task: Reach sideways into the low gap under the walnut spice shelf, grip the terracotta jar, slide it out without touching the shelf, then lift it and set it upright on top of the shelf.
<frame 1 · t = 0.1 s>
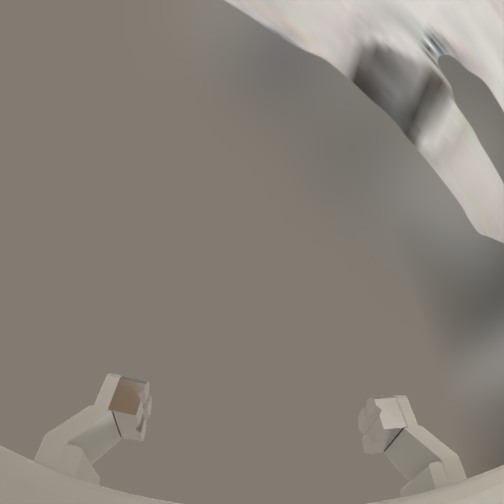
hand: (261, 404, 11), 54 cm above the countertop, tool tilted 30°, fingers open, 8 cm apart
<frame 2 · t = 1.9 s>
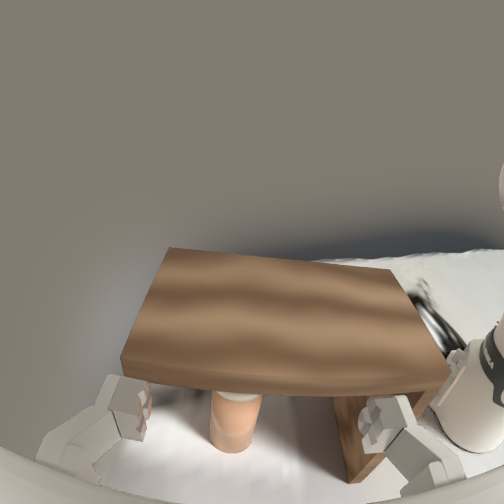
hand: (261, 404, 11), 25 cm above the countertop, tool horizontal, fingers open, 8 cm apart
jar: (231, 435, 34), on the countertop
shelf: (231, 435, 34), on the countertop
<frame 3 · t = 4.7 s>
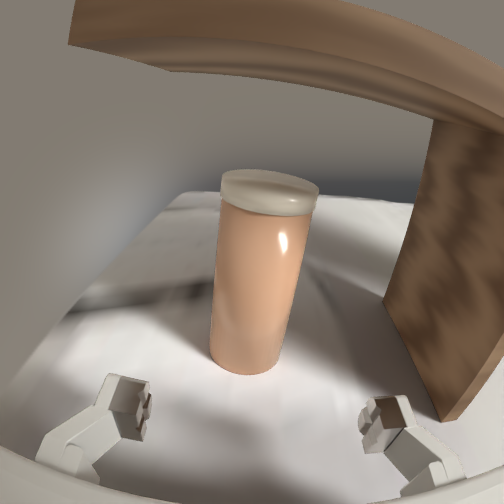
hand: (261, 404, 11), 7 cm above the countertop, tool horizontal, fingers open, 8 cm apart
jar: (244, 349, 22), on the countertop
shelf: (244, 349, 22), on the countertop
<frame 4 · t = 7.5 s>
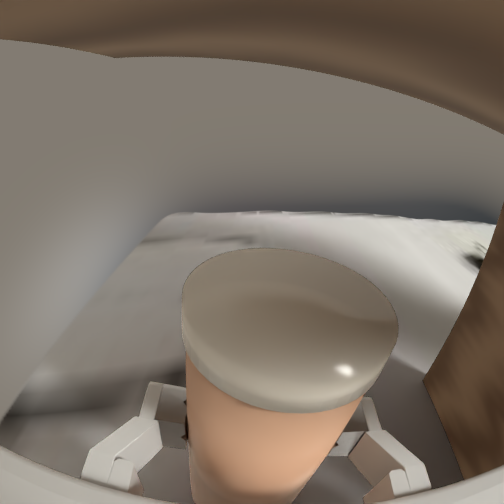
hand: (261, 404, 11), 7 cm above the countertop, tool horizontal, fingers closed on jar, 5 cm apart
jar: (241, 488, 13), on the countertop, touching gripper
shelf: (241, 488, 13), on the countertop
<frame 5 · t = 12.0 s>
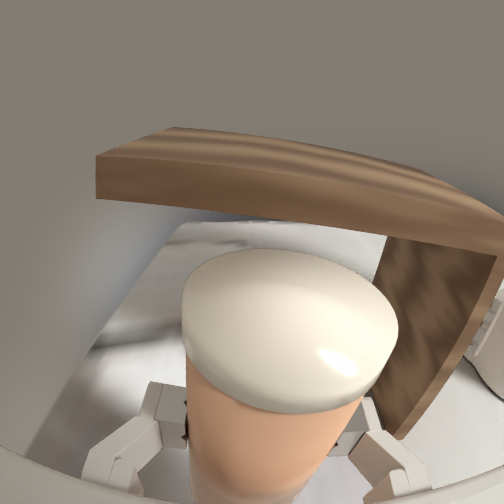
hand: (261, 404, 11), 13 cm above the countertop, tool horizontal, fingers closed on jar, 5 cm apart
jar: (241, 489, 13), point 7 cm above the countertop, touching gripper
shelf: (234, 378, 28), on the countertop
when the fingers open (28 cm above the countertop, at t = 16.6 s): jar drops 1 cm, resting on shelf.
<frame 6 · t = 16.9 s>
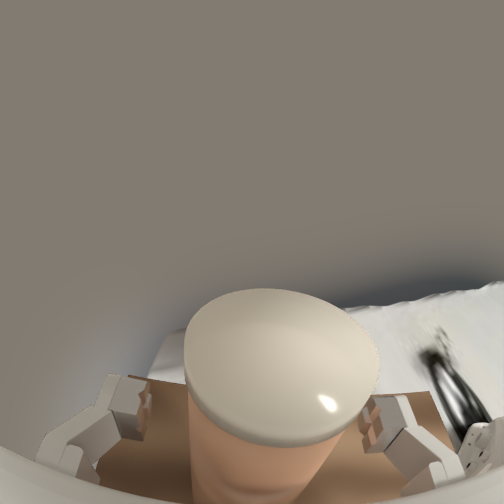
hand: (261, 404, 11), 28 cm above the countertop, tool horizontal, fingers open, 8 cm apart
jar: (239, 497, 13), point 20 cm above the countertop, touching shelf
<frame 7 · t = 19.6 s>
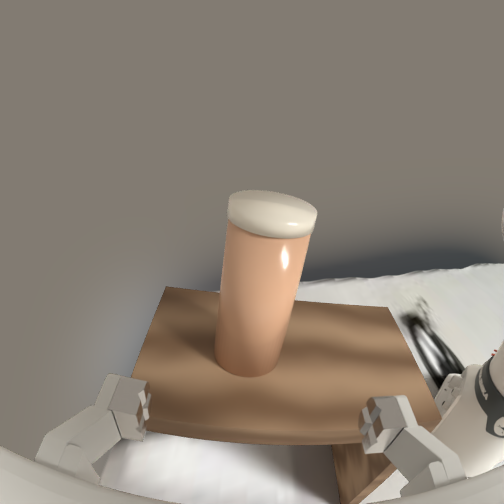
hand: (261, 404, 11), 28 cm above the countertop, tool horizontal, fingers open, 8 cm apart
jar: (246, 353, 24), point 20 cm above the countertop, touching shelf
shelf: (228, 462, 33), on the countertop
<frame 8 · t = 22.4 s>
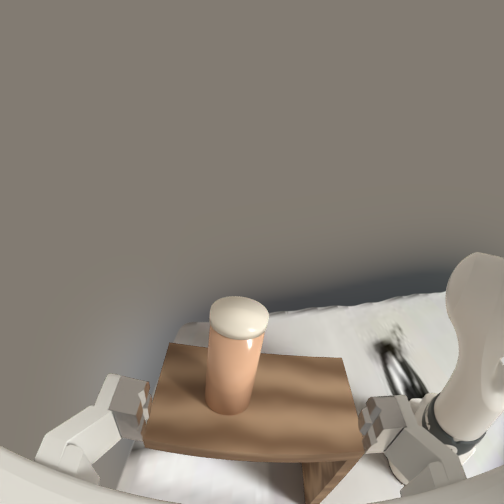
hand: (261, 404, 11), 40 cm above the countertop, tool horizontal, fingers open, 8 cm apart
jar: (227, 398, 33), point 20 cm above the countertop, touching shelf
shelf: (218, 468, 42), on the countertop
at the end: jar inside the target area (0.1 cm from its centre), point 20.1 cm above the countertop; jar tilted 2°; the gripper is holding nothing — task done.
